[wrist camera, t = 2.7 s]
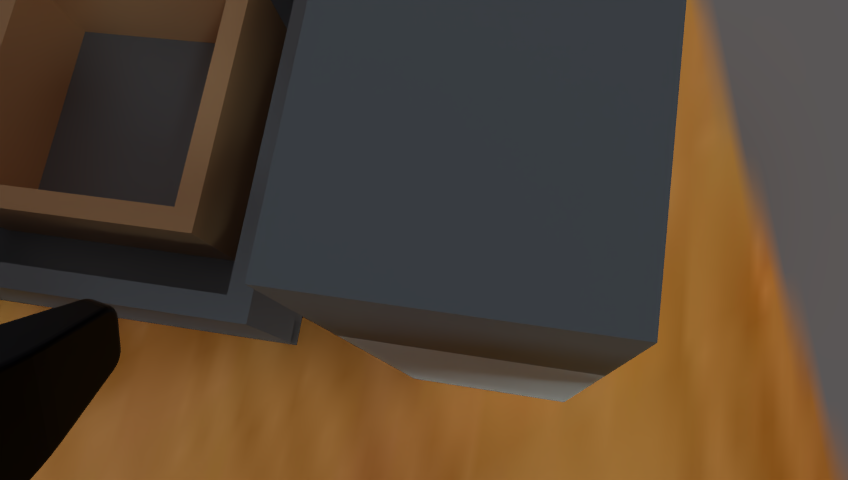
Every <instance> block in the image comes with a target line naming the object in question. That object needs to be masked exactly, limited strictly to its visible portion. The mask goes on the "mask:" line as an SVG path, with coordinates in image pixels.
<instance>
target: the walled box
mask: <svg viewBox="0 0 848 480" xmlns="http://www.w3.org/2000/svg"><path fill="white" fill-rule="evenodd" d="M306 5H307V0H0V300H6V301H13V302H19V303H26V304H32V305H39V306H45V307H52V308H56V307H59V306H62V305H65V304H68V303H72V302H75V301H78V300H82V299H93V300H96V301H99V302H101V303H104V304H107V305H110V306H112V307H113V308H114V309H115V311H116V312H117V316H118V318H123V319H130V320H136V321H143V322H149V323H156V324H162V325H169V326H175V327H182V328H188V329H195V330H201V331H208V332H214V333H221V334H227V335H234V336H240V337H247V338H253V339H260V340H266V341H273V342H279V343H286V344H292V345H297V341H298V336H299V331H300V326H301V321H302V316H301V315H299V314H297V313H296V312H294V311H292V310H290V309H288V308H287V307H285V306H283V305H281V304H279V303H278V302H276V301H274V300H272V299H271V298H269V297H267V296H265V295H263V294H262V293H260V292H258V291H256V290H254V289H253V288H251V287H249V286H247V285H245V280H246V275H247V271H248V266H249V262H250V257H251V253H252V248H253V244H254V239H255V235H256V230H257V226H258V221H259V217H260V212H261V208H262V203H263V198H264V194H265V189H266V185H267V180H268V176H269V171H270V167H271V162H272V158H273V153H274V149H275V144H276V140H277V135H278V131H279V126H280V122H281V117H282V113H283V108H284V104H285V99H286V95H287V90H288V86H289V81H290V77H291V72H292V68H293V63H294V59H295V54H296V50H297V45H298V41H299V36H300V32H301V27H302V23H303V18H304V14H305V9H306Z"/></svg>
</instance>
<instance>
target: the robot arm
mask: <svg viewBox="0 0 848 480" xmlns="http://www.w3.org/2000/svg"><path fill="white" fill-rule="evenodd" d="M120 352H121V347H120V337H119V326H118V316H117V312H116V311H115V309H114V308H113V307H112V306H110V305H107V304H104V303H101V302H99V301H96V300H93V299H82V300H78V301H75V302H72V303H68V304H65V305H62V306H59V307H56V308H52V309H49V310H46V311H43V312H39V313H36V314H33V315H30V316H27V317H23V318H20V319H17V320H14V321H10V322H7V323H4V324H1V325H0V480H30V479H31V478H32V477H33V476H34V475H35V473H36V472H37V471H38V470H39V469H40V468H41V467H42V465H43V464H44V463H45V462H46V461H47V459H48V458H49V457H50V456H51V455H52V453H53V452H54V451H55V450H56V448H57V447H58V446H59V444H60V443H61V442H62V440H63V439H64V438H65V436H66V435H67V434H68V432H69V431H70V429H71V428H72V427H73V425H74V424H75V422H76V421H77V420H78V418H79V417H80V416H81V414H82V413H83V411H84V410H85V409H86V407H87V406H88V405H89V403H90V402H91V400H92V399H93V398H94V396H95V395H96V393H97V392H98V391H99V389H100V388H101V387H102V385H103V384H104V382H105V381H106V380H107V378H108V377H109V376H110V374H111V373H112V371H113V370H114V368H115V367H116V365H117V363H118V361H119V358H120Z"/></svg>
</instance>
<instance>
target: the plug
mask: <svg viewBox="0 0 848 480" xmlns="http://www.w3.org/2000/svg"><path fill="white" fill-rule="evenodd" d="M685 10H686V0H307V5H306V9H305V14H304V18H303V23H302V27H301V32H300V36H299V41H298V45H297V50H296V54H295V59H294V63H293V68H292V72H291V77H290V81H289V86H288V90H287V95H286V99H285V104H284V108H283V113H282V117H281V122H280V126H279V131H278V135H277V140H276V144H275V149H274V153H273V158H272V162H271V167H270V171H269V176H268V180H267V185H266V189H265V194H264V198H263V203H262V208H261V212H260V217H259V221H258V226H257V230H256V235H255V239H254V244H253V248H252V253H251V257H250V262H249V266H248V271H247V275H246V280H245V285H247V286H249V287H251V288H253V289H254V290H256V291H258V292H260V293H262V294H263V295H265V296H267V297H269V298H271V299H272V300H274V301H276V302H278V303H279V304H281V305H283V306H285V307H287V308H288V309H290V310H292V311H294V312H296V313H297V314H299V315H301V316H303V317H305V318H306V319H308V320H310V321H312V322H314V323H315V324H317V325H319V326H321V327H323V328H324V329H326V330H328V331H330V332H332V333H333V334H335V335H337V336H339V337H341V338H342V339H344V340H346V341H348V342H350V343H351V344H353V345H355V346H357V347H359V348H360V349H362V350H364V351H366V352H368V353H369V354H371V355H373V356H375V357H376V358H378V359H380V360H382V361H384V362H385V363H387V364H389V365H391V366H393V367H394V368H396V369H398V370H400V371H402V372H403V373H405V374H407V375H409V376H411V377H412V378H414V379H421V380H427V381H433V382H440V383H446V384H452V385H459V386H465V387H471V388H478V389H484V390H491V391H497V392H503V393H510V394H516V395H522V396H529V397H535V398H541V399H548V400H554V401H560V402H565V401H566V400H568V399H570V398H571V397H573V396H574V395H576V394H577V393H579V392H581V391H582V390H584V389H585V388H587V387H588V386H590V385H592V384H593V383H595V382H596V381H598V380H599V379H601V378H603V377H604V376H606V375H607V374H609V373H610V372H612V371H614V370H615V369H617V368H618V367H620V366H621V365H623V364H625V363H626V362H628V361H629V360H631V359H632V358H634V357H636V356H637V355H639V354H640V353H642V352H643V351H645V350H647V349H648V348H650V347H651V346H653V345H654V344H656V343H657V338H658V326H659V315H660V303H661V291H662V280H663V268H664V256H665V244H666V233H667V221H668V209H669V198H670V186H671V174H672V162H673V151H674V139H675V127H676V116H677V104H678V92H679V81H680V69H681V57H682V45H683V34H684V22H685Z"/></svg>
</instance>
